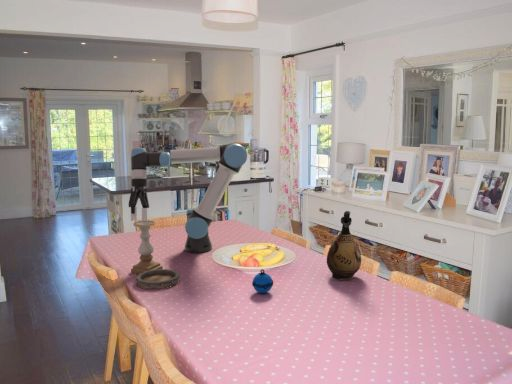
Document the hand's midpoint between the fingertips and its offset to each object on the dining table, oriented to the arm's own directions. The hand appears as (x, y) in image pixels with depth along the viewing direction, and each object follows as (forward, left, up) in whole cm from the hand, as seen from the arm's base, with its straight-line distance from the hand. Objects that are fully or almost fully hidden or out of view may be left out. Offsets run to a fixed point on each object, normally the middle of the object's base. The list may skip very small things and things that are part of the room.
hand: (139, 220), depth 236 cm
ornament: (-59, +47, -22) cm, 79 cm away
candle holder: (-5, +14, -22) cm, 27 cm away
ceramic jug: (-97, +30, -22) cm, 104 cm away
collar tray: (-13, +30, -22) cm, 40 cm away
